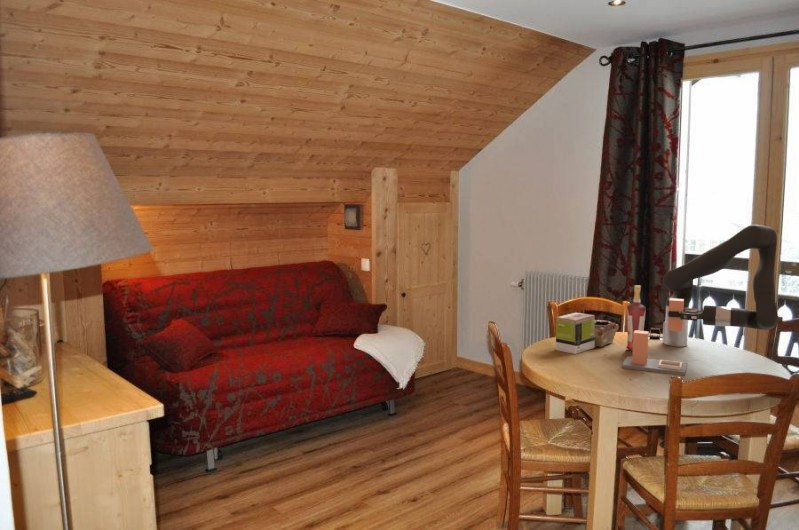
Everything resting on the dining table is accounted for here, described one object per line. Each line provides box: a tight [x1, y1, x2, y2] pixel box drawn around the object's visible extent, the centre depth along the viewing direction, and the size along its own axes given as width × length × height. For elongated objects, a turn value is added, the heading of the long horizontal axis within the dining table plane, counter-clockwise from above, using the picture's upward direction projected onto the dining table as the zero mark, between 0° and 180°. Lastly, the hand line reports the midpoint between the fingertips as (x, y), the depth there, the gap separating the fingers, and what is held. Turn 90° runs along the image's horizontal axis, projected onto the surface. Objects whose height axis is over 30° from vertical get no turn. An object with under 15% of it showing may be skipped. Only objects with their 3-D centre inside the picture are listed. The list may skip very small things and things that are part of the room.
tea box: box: [555, 312, 596, 355], centre depth 271 cm, size 15×10×15 cm, turn 131°
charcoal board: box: [621, 330, 688, 377], centre depth 244 cm, size 22×14×13 cm, turn 63°
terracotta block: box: [668, 298, 684, 331], centre depth 249 cm, size 5×5×12 cm
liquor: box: [625, 284, 647, 353], centre depth 267 cm, size 7×7×28 cm
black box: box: [648, 327, 663, 341], centre depth 293 cm, size 13×8×5 cm, turn 67°
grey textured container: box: [594, 319, 619, 348], centre depth 283 cm, size 13×20×10 cm, turn 132°
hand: (668, 312), depth 250 cm, fingers closed on terracotta block, 5 cm apart
